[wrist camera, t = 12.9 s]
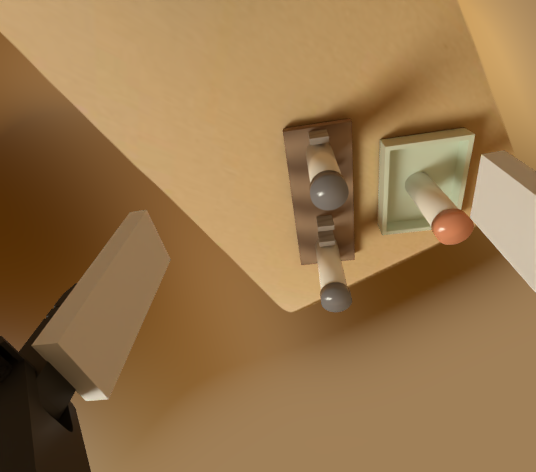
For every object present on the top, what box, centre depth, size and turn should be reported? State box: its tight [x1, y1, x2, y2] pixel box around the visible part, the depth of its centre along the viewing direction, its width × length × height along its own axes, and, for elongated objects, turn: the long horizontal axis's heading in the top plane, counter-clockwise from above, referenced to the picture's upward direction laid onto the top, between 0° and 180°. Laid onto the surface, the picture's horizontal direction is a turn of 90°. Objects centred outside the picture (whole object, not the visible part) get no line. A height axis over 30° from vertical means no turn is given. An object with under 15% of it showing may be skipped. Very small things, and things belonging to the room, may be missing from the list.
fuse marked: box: [405, 172, 474, 245], centre depth 42 cm, size 4×4×13 cm
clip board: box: [283, 119, 355, 265], centre depth 49 cm, size 23×9×4 cm, turn 9°
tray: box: [378, 128, 475, 235], centre depth 47 cm, size 14×11×3 cm
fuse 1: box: [306, 143, 349, 210], centre depth 40 cm, size 4×4×13 cm
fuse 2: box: [315, 240, 352, 312], centre depth 48 cm, size 4×4×13 cm
